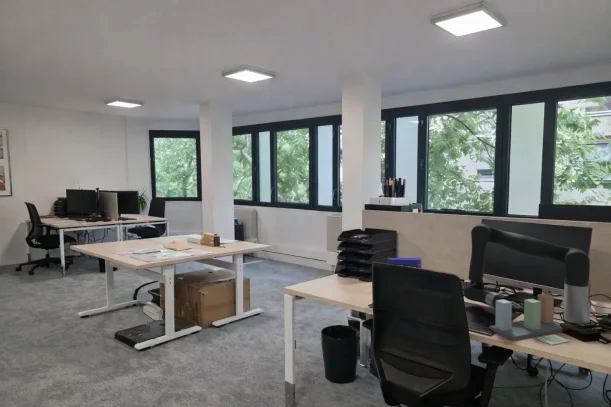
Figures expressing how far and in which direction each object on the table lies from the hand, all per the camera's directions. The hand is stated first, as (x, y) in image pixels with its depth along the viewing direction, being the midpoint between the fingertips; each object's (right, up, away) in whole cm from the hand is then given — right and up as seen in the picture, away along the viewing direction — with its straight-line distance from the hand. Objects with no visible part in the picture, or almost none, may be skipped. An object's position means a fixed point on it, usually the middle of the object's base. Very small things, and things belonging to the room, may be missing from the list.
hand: (528, 312), depth 175 cm
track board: (0, -8, 0) cm, 8 cm away
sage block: (+1, -6, -2) cm, 6 cm away
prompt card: (+4, -8, -11) cm, 14 cm away
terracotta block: (+11, -5, +6) cm, 13 cm away
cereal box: (-44, -6, +44) cm, 62 cm away
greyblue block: (-12, -6, -2) cm, 14 cm away
